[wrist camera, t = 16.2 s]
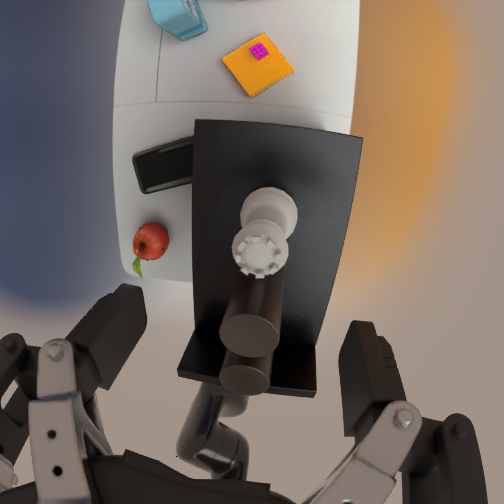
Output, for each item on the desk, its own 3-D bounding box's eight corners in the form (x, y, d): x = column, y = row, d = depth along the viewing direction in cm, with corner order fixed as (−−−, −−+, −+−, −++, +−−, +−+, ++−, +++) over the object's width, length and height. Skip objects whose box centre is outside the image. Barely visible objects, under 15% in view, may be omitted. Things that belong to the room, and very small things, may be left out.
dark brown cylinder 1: (263, 301, 26) (251, 365, 19) (230, 275, 25) (207, 334, 18) (294, 276, 25) (292, 339, 17) (260, 247, 24) (245, 303, 17)
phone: (217, 177, 45) (141, 195, 48) (219, 175, 46) (144, 194, 49) (206, 131, 42) (130, 155, 45) (208, 131, 43) (133, 154, 46)
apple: (139, 222, 52) (112, 243, 43) (167, 211, 50) (141, 231, 41) (155, 256, 55) (132, 281, 46) (183, 247, 53) (162, 273, 44)
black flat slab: (312, 346, 30) (313, 398, 23) (198, 329, 31) (177, 376, 24) (359, 137, 20) (388, 143, 13) (199, 119, 21) (161, 119, 14)
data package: (209, 32, 35) (184, 8, 24) (185, 42, 36) (153, 23, 25) (191, -14, 30) (164, -42, 20) (168, -4, 31) (137, -28, 21)
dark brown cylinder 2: (258, 339, 28) (246, 401, 21) (229, 317, 28) (209, 378, 21) (285, 319, 27) (280, 384, 20) (255, 295, 26) (241, 358, 19)
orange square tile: (294, 72, 37) (294, 67, 33) (251, 97, 39) (247, 95, 36) (265, 36, 34) (262, 28, 31) (224, 61, 37) (217, 56, 33)
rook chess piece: (240, 234, 24) (216, 286, 16) (244, 182, 22) (219, 213, 14) (293, 242, 23) (292, 298, 16) (301, 190, 21) (306, 226, 14)
